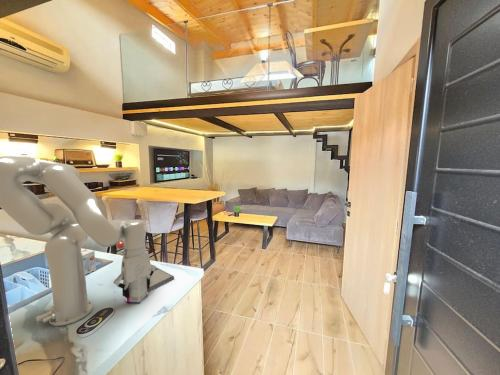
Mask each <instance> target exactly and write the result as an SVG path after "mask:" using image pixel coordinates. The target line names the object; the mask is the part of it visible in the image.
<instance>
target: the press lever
mask: <svg viewBox="0 0 500 375" xmlns="http://www.w3.org/2000/svg"><path fill="white" fill-rule="evenodd" d="M115 246H116V249H118V250H123V249H124V240H119V242H118V243H117V244H115Z"/></svg>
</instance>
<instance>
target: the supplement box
mask: <svg viewBox="0 0 500 375" xmlns="http://www.w3.org/2000/svg"><path fill="white" fill-rule="evenodd" d="M128 288H129V298H128V299H127V298H126V297H125V300H126V303H129V304H140V303H142V302H143V300H145V298H146V297H147V296H148V292H147V277H144V278H142V275H141V274H140V275H137V276H136V281H134V282H132V283H129V285H128Z"/></svg>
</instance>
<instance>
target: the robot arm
mask: <svg viewBox="0 0 500 375" xmlns="http://www.w3.org/2000/svg"><path fill="white" fill-rule="evenodd" d="M80 174H81V173H80V172H79V170H78V169H77V168H76V167H75V166H73V165H71V164H67V163H61V162H55V161H52V160H51V161H50V160H45V159H40V158H34V157H30V156H11V155H10V156H8V155H7V156H5V155H4V156H3V155H2V156H0V208H1V210H2V211H3V212H5V213H6V214H7V215H8V216H9V217H10V218H11V219H13V221H15V222H16V223H17V224H18V225H20V226H21V227H22V228H23V229H24V230H25V231H26V232H27V233H28V234H31V235H33V236H44V235H46V234H49V233H50V235H52V236H50V238H49V239H48V240H47V241H46V243H45V245H44V250H43V251H44V252H43V253H44V256H45V259H46V262H47V265H48V270H49V278H50V285H51V293H52V294H51V296H52V302H53V304H52V306H51V307H50V309H49V310H48V311H47V312H45V313H43V314H39V315H37V316H35V321H36V323H40V322H42V323H43V324H44V323H47V322H49V324H50V325H51V326H54V327H60V326H67V325H71V324H73V323H75V322H79V320H82V319H83V318H84V319H85V317H86V316H88V315H89V314H90V313H91V312H92V311H93V310H94V302H92V301H91V300H88V291H87V290H88V289H87V281H86V275H85V268H84V261H83V257H82V253H81V251H82V248H83V246H84V245H85V244H86V242H88V239H89V238H90V239H92V240H93V241H94V242H95V243H96V244H97V245H98V246H101V247H104V248H110V247H113V246H116V244H117V243H118V242H119V241H121V238H122V239H123V242H124V248H123V251H121V252H120V255H121V256H122V260H121V268H120V274H119V275H118V276H117V277H116V278H115V279H114V281H113V284H114V285H115V286H117V287H118V288H120V289H121V290H122V296H123V297H124V298H125V299H126V298H127V299H128V298H129V288H128V285H129V283H132V282H134V281H136V276H137V275H140V274H141V275H142V278H144V277H147V289H149V288H150V286H149V285H150V279H151V276H152V274H153V273H154V270H155V268H156V267H157V266H156V265H154V264H151V258H150V253H149V254H148V251H149V250H148V251H146V250H147V249H146V227H145V222H144V220H142V219H130V220H120V219H113V220H108V218H106V217H105V216H104V214H103V212H102V211H101V210H100V207H99V204H98V203H99V202H98V199H97V197H96V195H95V194H94V193H93V192H92V190H90V189H89V188H88V186H87V185H85V183H83V181H81V179H80V178H81V175H80ZM23 182H34V183H40V184H43V185H44V186H45V187H47V188H48V189H49V190H50V191H51V192H52V193H53V195H55V196H56V197H57V198H58V199H59V200H60V201H61V202H62V203H63V204H64V205H65V206H66V207H67V208H68V209H69V210H70V211H71V212H70V211H69V210H68V209H67V208H66V207H64V206H63V205H60V204H58V203H53V202H52V203H50V202H49V203H44V202H43V201H42V200H41V199H40V198H39V197H38V196H37V195H36V194H35V193H34V192H32V191H31V190H30V189H28V188H27V187H26V186H23V184H22V183H23ZM121 280H122V282H121Z"/></svg>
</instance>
